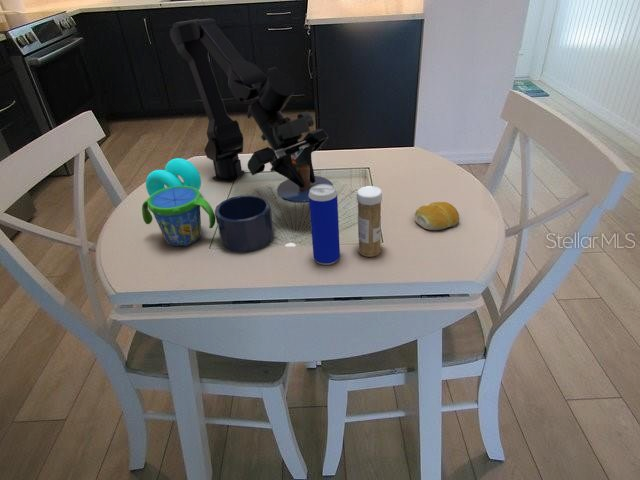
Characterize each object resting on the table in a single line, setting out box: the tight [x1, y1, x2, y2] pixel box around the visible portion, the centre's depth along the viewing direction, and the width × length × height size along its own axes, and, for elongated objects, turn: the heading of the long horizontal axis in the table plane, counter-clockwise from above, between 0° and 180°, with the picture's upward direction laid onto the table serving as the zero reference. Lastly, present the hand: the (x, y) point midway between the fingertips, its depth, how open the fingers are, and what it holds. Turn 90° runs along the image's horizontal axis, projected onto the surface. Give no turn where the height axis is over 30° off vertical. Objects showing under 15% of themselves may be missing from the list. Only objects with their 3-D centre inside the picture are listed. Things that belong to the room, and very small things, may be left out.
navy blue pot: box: [214, 194, 275, 254], centre depth 96 cm, size 11×11×7 cm
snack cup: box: [141, 186, 216, 247], centre depth 97 cm, size 16×10×10 cm
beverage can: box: [308, 184, 341, 266], centre depth 86 cm, size 5×5×15 cm
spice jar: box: [356, 185, 383, 258], centre depth 87 cm, size 5×5×14 cm
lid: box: [276, 164, 334, 204], centre depth 98 cm, size 12×12×6 cm
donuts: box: [145, 157, 202, 197], centre depth 112 cm, size 10×10×10 cm
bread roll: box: [414, 201, 460, 231], centre depth 98 cm, size 8×9×4 cm
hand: (308, 184), depth 98 cm, fingers closed on lid, 3 cm apart
